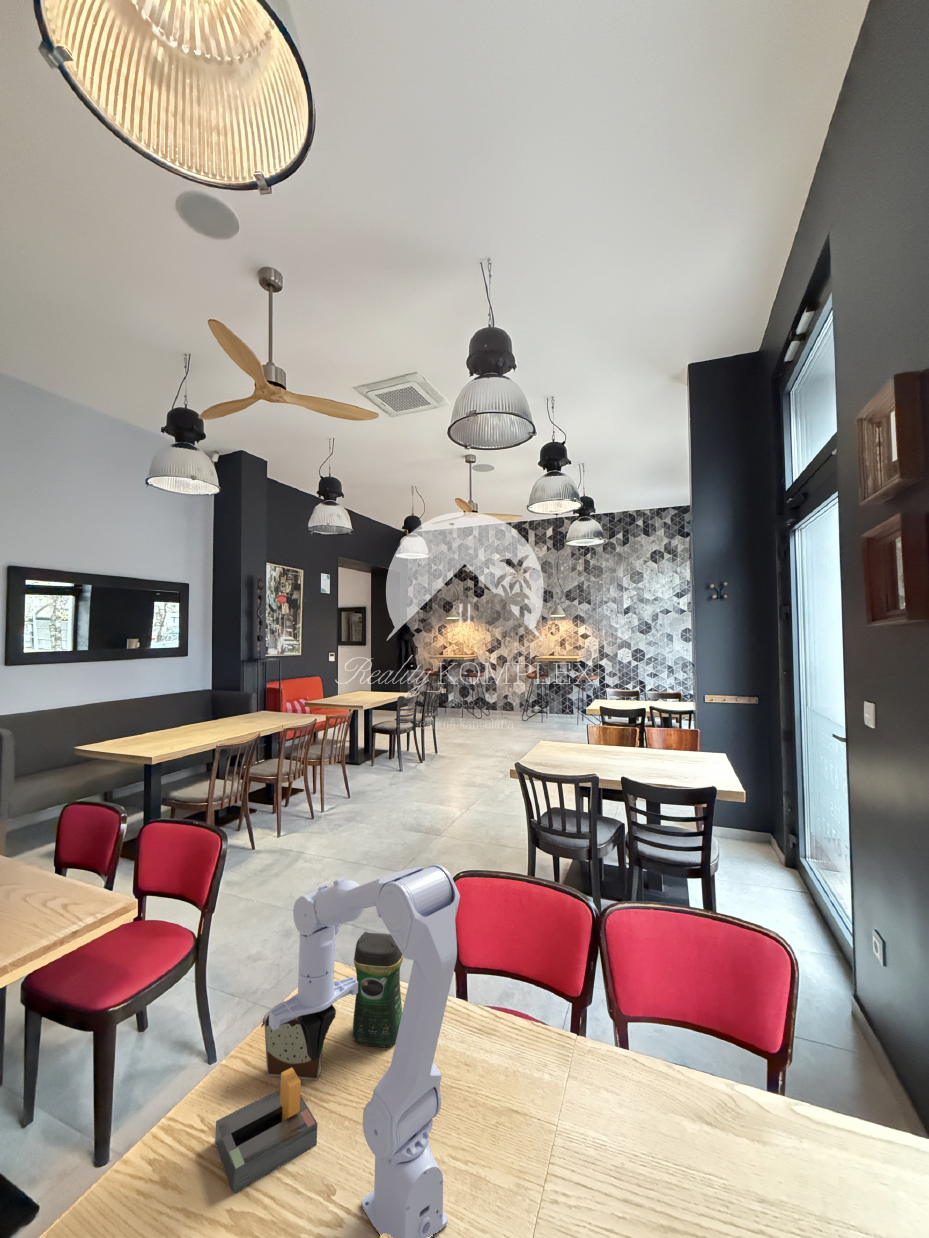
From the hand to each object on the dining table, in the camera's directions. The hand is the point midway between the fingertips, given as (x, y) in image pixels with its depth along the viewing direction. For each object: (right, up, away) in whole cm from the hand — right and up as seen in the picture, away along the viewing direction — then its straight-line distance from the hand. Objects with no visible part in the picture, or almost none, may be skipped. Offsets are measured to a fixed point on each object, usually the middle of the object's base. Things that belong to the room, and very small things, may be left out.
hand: (313, 1055), depth 84 cm
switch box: (-6, -9, -5) cm, 12 cm away
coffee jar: (+7, -11, +18) cm, 22 cm away
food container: (-6, -11, +10) cm, 16 cm away
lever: (-3, -9, -3) cm, 10 cm away
